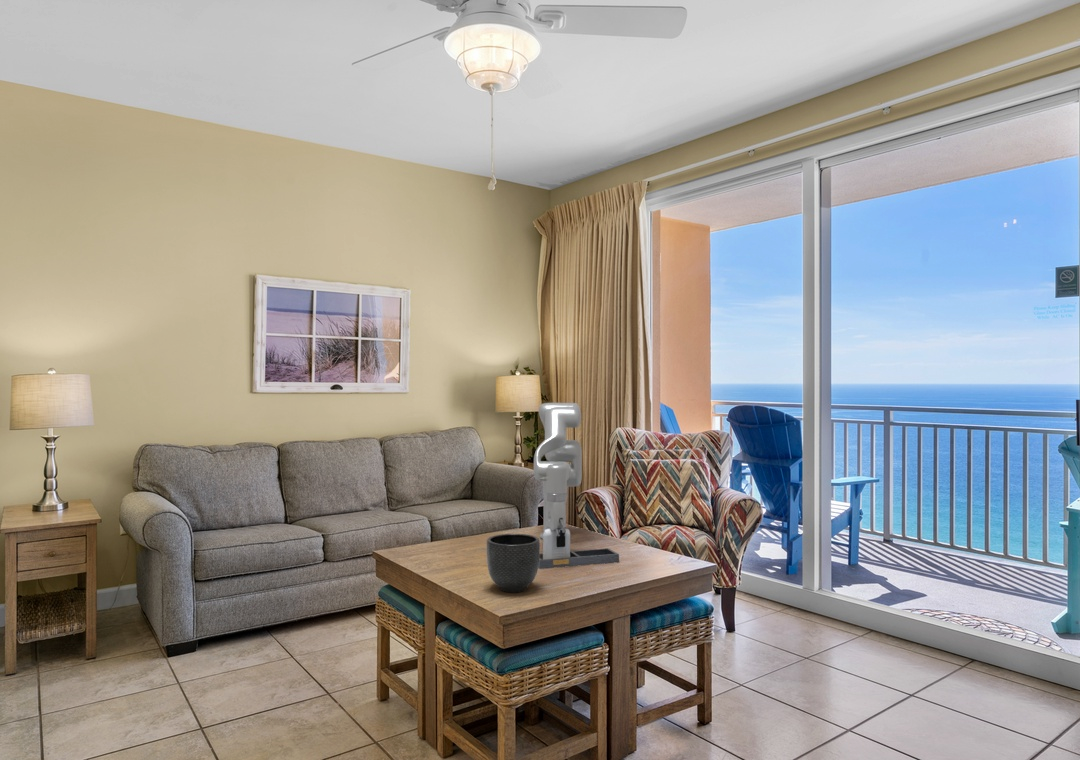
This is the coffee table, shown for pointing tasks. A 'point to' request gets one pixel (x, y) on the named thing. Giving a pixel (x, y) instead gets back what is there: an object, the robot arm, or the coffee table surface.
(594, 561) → the divided tray
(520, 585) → the planter
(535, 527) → the coffee table surface
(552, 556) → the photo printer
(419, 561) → the coffee table surface
